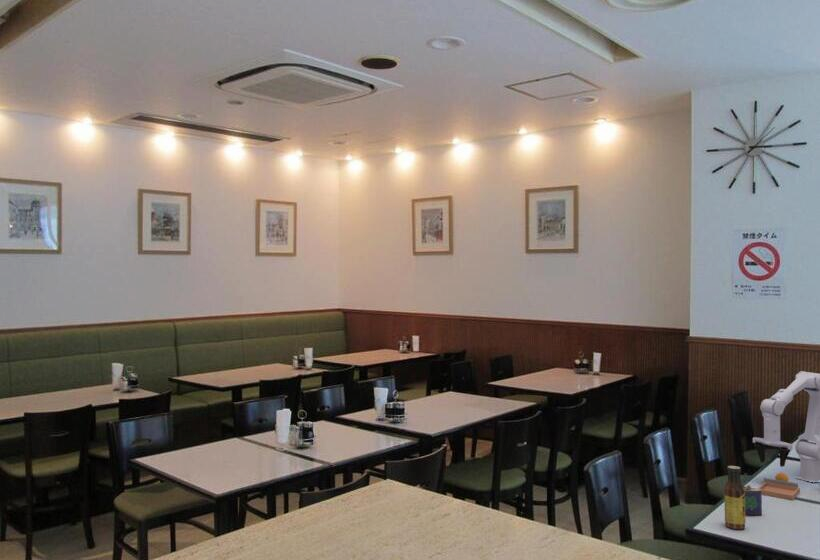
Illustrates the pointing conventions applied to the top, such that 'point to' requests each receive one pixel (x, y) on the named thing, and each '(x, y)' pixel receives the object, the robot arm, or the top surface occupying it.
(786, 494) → the tray
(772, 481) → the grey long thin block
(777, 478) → the ball
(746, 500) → the flask
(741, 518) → the sauce bottle
